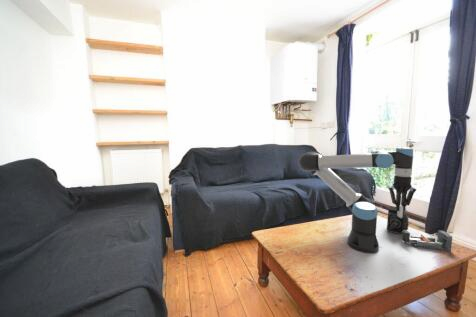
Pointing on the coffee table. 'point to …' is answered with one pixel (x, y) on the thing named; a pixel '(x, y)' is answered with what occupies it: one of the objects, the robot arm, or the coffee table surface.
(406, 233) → the plunger
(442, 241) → the gauge body
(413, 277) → the coffee table surface
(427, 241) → the orange upright plank
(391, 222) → the camera
